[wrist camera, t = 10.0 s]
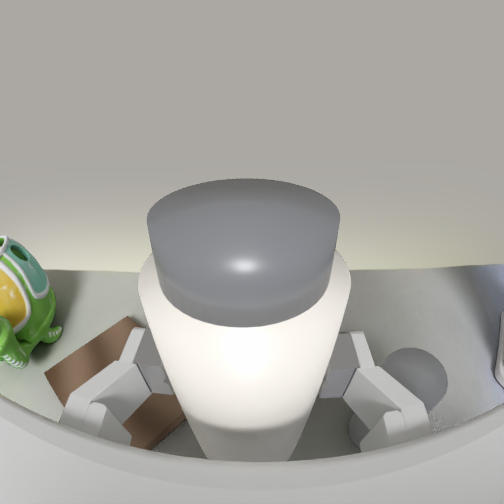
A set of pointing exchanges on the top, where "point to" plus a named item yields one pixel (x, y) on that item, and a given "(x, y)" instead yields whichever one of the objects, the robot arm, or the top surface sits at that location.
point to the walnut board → (99, 357)
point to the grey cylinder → (409, 383)
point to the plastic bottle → (245, 309)
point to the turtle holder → (23, 304)
